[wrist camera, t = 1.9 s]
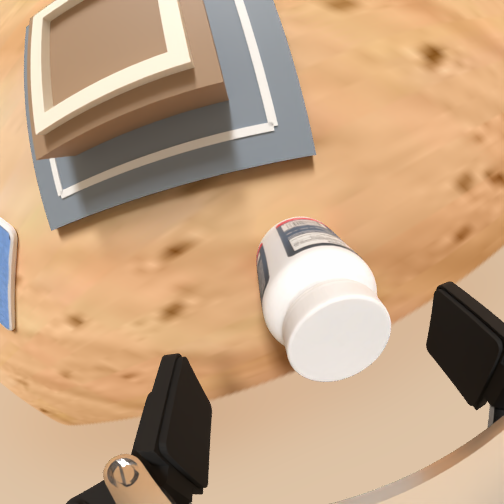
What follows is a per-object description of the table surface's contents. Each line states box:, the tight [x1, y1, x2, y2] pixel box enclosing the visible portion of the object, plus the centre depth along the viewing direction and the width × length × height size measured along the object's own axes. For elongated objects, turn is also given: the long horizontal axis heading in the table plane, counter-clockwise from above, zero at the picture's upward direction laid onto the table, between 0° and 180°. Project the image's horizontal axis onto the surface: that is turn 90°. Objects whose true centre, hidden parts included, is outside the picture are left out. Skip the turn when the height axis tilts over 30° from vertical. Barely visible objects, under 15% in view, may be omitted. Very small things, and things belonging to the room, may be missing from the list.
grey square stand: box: [24, 0, 316, 231], centre depth 10 cm, size 18×18×6 cm
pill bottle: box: [256, 217, 391, 382], centre depth 13 cm, size 5×5×9 cm
